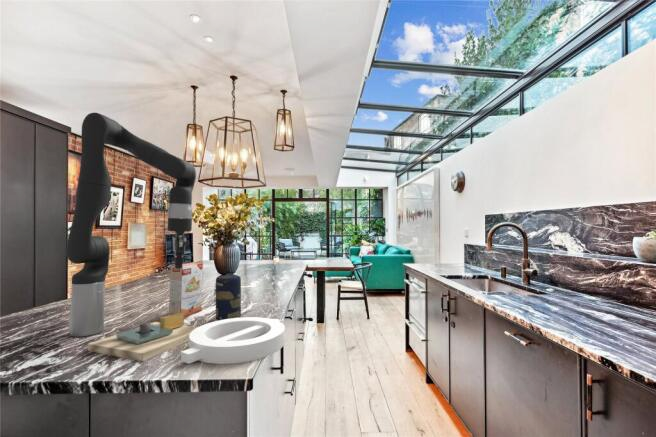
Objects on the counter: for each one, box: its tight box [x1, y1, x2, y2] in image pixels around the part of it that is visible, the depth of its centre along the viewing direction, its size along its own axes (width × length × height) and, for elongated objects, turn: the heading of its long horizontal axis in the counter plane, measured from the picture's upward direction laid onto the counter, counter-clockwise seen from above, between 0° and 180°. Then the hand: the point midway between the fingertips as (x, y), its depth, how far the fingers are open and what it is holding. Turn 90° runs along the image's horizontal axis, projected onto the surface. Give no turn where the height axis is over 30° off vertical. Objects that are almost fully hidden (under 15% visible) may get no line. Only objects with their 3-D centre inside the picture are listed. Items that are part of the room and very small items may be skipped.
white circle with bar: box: [180, 316, 286, 365], centre depth 95 cm, size 28×28×5 cm
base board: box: [87, 312, 199, 362], centre depth 97 cm, size 22×23×6 cm
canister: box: [215, 273, 242, 321], centre depth 122 cm, size 10×10×18 cm
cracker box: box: [168, 262, 204, 318], centre depth 130 cm, size 14×6×21 cm, turn 168°
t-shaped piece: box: [115, 313, 185, 344], centre depth 99 cm, size 18×11×4 cm, turn 151°
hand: (178, 268), depth 105 cm, fingers closed
